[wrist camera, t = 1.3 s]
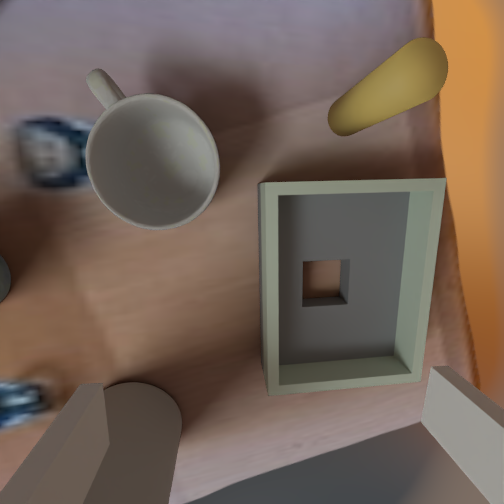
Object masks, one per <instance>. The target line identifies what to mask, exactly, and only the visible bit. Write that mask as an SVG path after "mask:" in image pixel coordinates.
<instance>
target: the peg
mask: <svg viewBox="0 0 504 504" xmlns="http://www.w3.org/2000/svg"><path fill="white" fill-rule="evenodd" d="M447 73H448V61H447V57H446V54H445V51H444V50H443V48H442V47H441V45H440V44H439V43H437V42H436V41H435V40H432V39H430V38H417V39H414V40H412V41H410V42H408V43H407V44H406V45H405V46H403V47H402V48H401V49H400V50H398V51H397V52H396V53H395V54H393V55H392V56H391V57H390V58H388V59H387V60H386V61H385V62H384V63H382V64H381V65H380V66H379V67H377V68H376V69H375V70H374V71H372V72H371V73H370V74H369V75H367V76H366V77H365V78H364V79H363V80H361V81H360V82H359V83H358V84H356V85H355V86H354V87H353V88H351V89H350V90H349V91H348V92H346V93H345V94H344V95H343V96H342V97H340V98H339V99H338V100H337V101H335V102H334V103H333V104H332V106H331V107H330V110H329V113H328V123H329V126H330V128H331V130H332V131H333V132H334V133H335V134H337V135H339V136H349V135H352V134H354V133H356V132H359V131H361V130H363V129H365V128H368V127H370V126H372V125H374V124H377V123H379V122H381V121H383V120H385V119H388V118H390V117H392V116H394V115H397V114H399V113H401V112H403V111H406V110H408V109H410V108H412V107H415V106H417V105H419V104H421V103H424V102H426V101H428V100H430V99H432V98H433V97H434V96H436V95H437V94H438V92H439V91H440V90H441V88H442V87H443V85H444V83H445V80H446V77H447Z"/></svg>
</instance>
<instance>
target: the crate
mask: <svg viewBox="0 0 504 504" xmlns="http://www.w3.org/2000/svg"><path fill="white" fill-rule="evenodd" d="M445 186H446V178H429V179H387V180H345V181H303V182H265V183H260V184H258V231H259V280H260V328H261V364H262V369H263V374H264V378H265V383H266V388H267V392H268V396H274V395H285V394H295V393H306V392H316V391H327V390H337V389H348V388H358V387H369V386H379V385H390V384H400V383H411V382H421V374H422V366H423V358H424V350H425V343H426V335H427V327H428V319H429V311H430V303H431V296H432V288H433V280H434V272H435V264H436V257H437V249H438V241H439V233H440V225H441V217H442V210H443V202H444V194H445ZM322 260H341V271H340V292H339V297H323V298H307V299H302V284H303V261H322Z"/></svg>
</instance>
